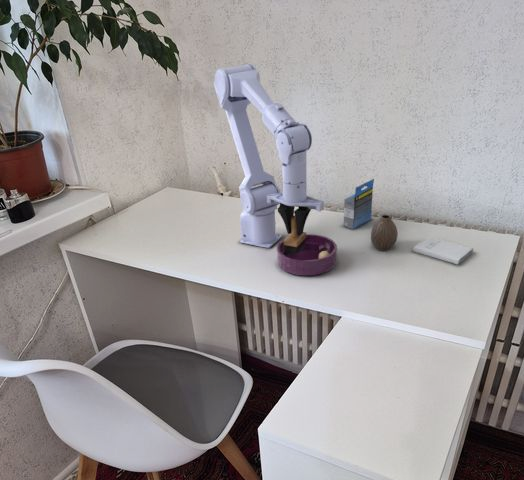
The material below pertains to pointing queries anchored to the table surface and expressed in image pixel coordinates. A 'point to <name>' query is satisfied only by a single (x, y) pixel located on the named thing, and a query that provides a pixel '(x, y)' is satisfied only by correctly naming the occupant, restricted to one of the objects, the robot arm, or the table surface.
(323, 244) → the bowl
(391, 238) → the vase
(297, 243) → the brush
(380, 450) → the table surface
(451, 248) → the hard drive
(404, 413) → the table surface
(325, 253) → the dough ball
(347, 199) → the tape cartridge
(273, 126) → the robot arm
